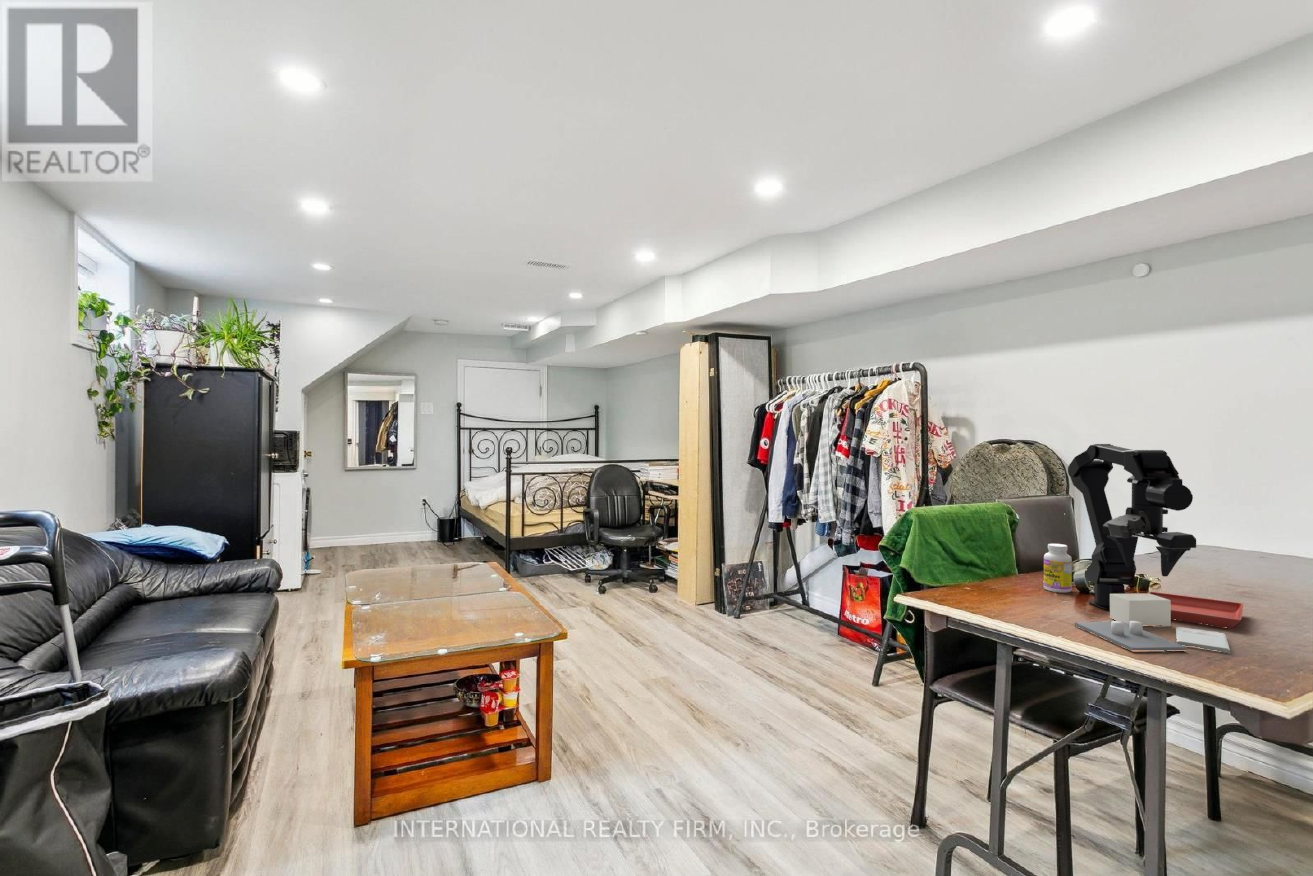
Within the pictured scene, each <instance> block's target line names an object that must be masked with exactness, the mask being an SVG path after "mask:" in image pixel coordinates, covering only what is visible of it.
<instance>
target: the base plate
mask: <svg viewBox="0 0 1313 876" xmlns="http://www.w3.org/2000/svg"><path fill="white" fill-rule="evenodd" d="M1075 626H1077V627H1080V628H1082V629H1084V630H1086V631H1088V632H1092V633H1094V634H1095V635H1097V636H1101V637H1103V638H1105V639H1107V640H1108V641H1112V642H1113V643H1115V644H1117V645H1119V646H1123V647H1125V648H1127V649H1129V650H1164V651H1167V650H1186V651H1187V647H1185V646H1182V645H1180V644H1177V642H1174V641H1173V640H1169V639H1167V638H1164V637H1161V636H1160V635H1157V634H1154V633H1152V632H1149V631H1146V630H1144V628H1143V623H1142V622H1139V621H1130V625H1129V624H1127V623H1124V622H1120V621H1114V620H1111V621H1075V622H1074V627H1075ZM1077 627H1076V628H1077ZM1086 631H1085V632H1086ZM1088 632H1087V633H1088ZM1097 636H1096V637H1097ZM1108 641H1107V642H1108ZM1119 646H1118V647H1119Z"/></svg>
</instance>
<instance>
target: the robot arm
mask: <svg viewBox="0 0 1313 876" xmlns="http://www.w3.org/2000/svg"><path fill="white" fill-rule="evenodd" d="M1113 464H1116V465H1118V466H1122V467H1123V470H1124V471H1126V472H1128V473H1130V474H1131V476H1130V477H1128V478H1127V479H1126V481H1127V483H1131V506H1128V507H1126V509H1125V513H1124V515H1120V516H1117V517H1114V518H1113V517H1112V516H1113V515H1112V513H1111V512H1112V511H1111V508H1110V506H1109V501H1108V498H1107V494H1106V490H1105V488H1106V487H1107V485H1108V482H1109V480H1110V477H1109V473H1110V472H1112V470H1113V469H1114V466H1113ZM1067 474H1068V476H1069V477H1070V480H1071V482H1072V486H1074V488H1076V489H1077V490H1078V491H1079V492H1080V493H1081V494H1082V496H1083V500H1084V504H1085V507H1086V511H1087V516H1088V520H1089V524H1090V527H1091V532H1092V536H1093V539H1094V543H1095V548H1094V550H1093V552H1092V554H1091V564H1089V566H1088V567H1087V569H1086V570H1085V572H1084V573H1085V578H1086V579H1085V580H1086V581H1087V582H1090V583H1093V589H1094V590H1093V591H1094V593H1093V594H1094V595H1093V598H1094V600H1092V601H1091V600H1088V604H1090V605H1092V606H1094V607H1098V608H1100V609H1102V610H1107V611H1110V594H1126V592H1125V585H1127V586H1133V584H1134V580H1135V576H1136V573H1137V566H1136V561H1135V559H1134V558H1135V556H1136V555H1135V553H1136V550H1137V545H1138V541H1139V538H1144V539H1148V540H1154V541H1156V543H1157V544H1158V545H1159V546H1155V549H1157V551H1158V552H1159V553H1160V571H1161V573H1160V574H1161V576H1162V577H1168V576H1169V574H1170V573H1171V572H1172V570H1173V569H1174V567H1175V566H1176V564H1178V561H1179V560H1180V559H1181V558H1182V556H1183V555H1185V554H1186V552H1187V551H1188V552H1189V551H1191V549H1196V548H1197V538H1196V537H1195V536H1194V535H1193V534H1190V533H1185V532H1182V531H1181V532H1179V531H1172V532H1171V531H1169V529H1168V526H1164V525H1163V524H1164V515H1168V514H1169V510H1172V511H1177V512H1179V511H1183V510H1186V509H1187V508H1189V507H1190V506H1191V504H1192V502H1193V500H1194V499H1193V498H1194V497H1193V494H1192V491H1191V490H1190V488H1189V487H1188V486H1186V485H1184V484H1183V479H1182V478H1180V476H1179V474H1180V473H1179V472H1178V470H1177V469H1176V467H1175V466H1174V463H1173V462H1172V459H1171V457H1170V456H1169V455H1168V452H1167V451H1165V450H1163V449H1130V448H1125V447H1122V446H1117V445H1113V444H1111V443H1093V444H1090V445H1089V446H1088V447H1087V449H1086V450H1084V451H1083V452H1080V453H1079V454H1077V455H1076V456H1074V458H1073V459H1072V460H1071V462H1070V463H1069V465H1068V466H1067Z"/></svg>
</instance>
